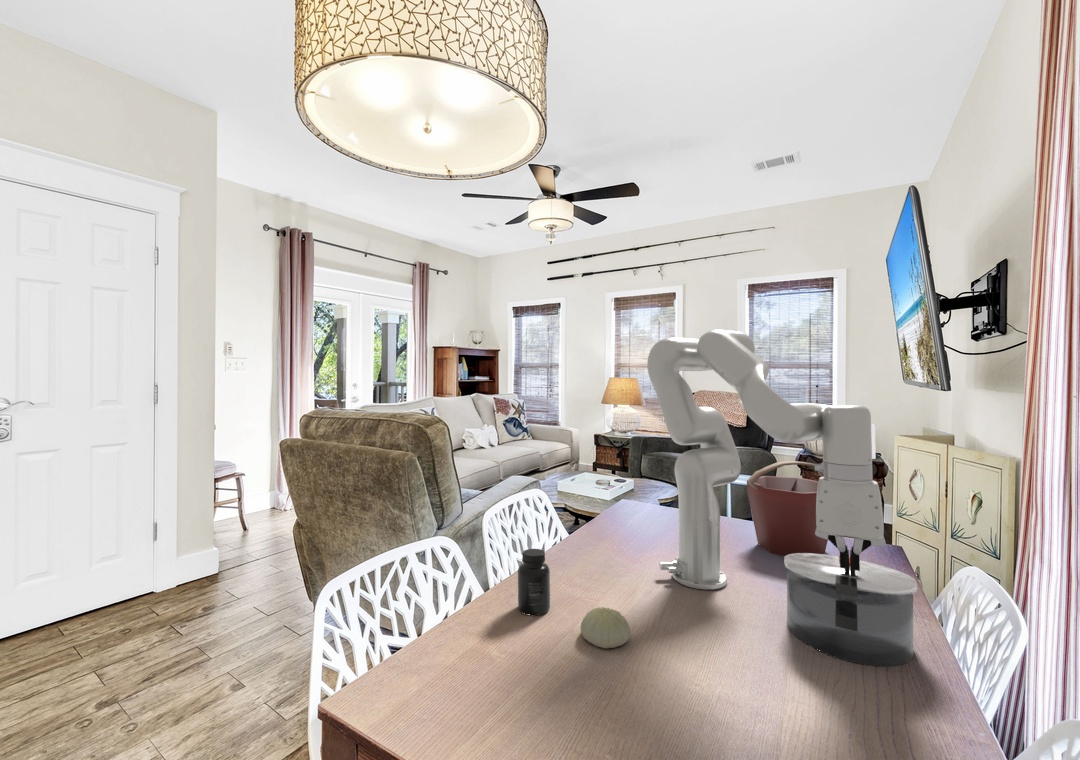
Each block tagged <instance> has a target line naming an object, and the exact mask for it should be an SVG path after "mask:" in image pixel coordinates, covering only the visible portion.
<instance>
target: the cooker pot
mask: <svg viewBox="0 0 1080 760" xmlns="http://www.w3.org/2000/svg"><path fill="white" fill-rule="evenodd" d="M786 571H787V572H786V616H787V617H786V623H787V627H788V629H789V630H790V632H791V633H792V634H793V635H794V636H795V637H796V638H797V637H798V638H797V639H799V640H800V641H801V642H803V643H804V642H805V643H804V644H805V645H807V644H808V645H807V646H809V645H810V646H809V647H811V646H812V647H813V649H814V648H816V649H818V650H820V651H819V652H821V651H822V652H821V653H823V652H824V653H823V654H825V653H827V654H826V655H827V656H830V655H831V657H833V658H836V659H839V660H842V661H845V660H846V661H845V662H849V661H851V662H850V663H853V662H854V663H853V664H858V663H859V664H860V665H863V664H865V665H864V666H869V665H871V666H870V667H880V666H886V667H887V668H888V666H890V667H898V666H902V665H905V664H907V663H909V662H910V661H911V660H912V659H913V657H914V593H911V594H903V595H891V594H879V593H870V592H863V591H857V597H852V596H848V595H843V594H838V593H835V586H833V585H829V584H826V583H822V582H818V581H815V580H812V579H809V578H806V577H803V576H801V575H799V574H796V573H794V572H792V571H791V570H789V569H788V568H787V570H786ZM812 647H811V648H812ZM816 649H815V650H816ZM818 650H817V651H818Z"/></svg>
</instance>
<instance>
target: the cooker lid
mask: <svg viewBox="0 0 1080 760" xmlns="http://www.w3.org/2000/svg"><path fill="white" fill-rule="evenodd" d="M783 559H784V561H783V562H784V567H785V568H786V569H787V570H788V569H789V570H791V571H792V572H794V573H796V574H799V575H801V576H803V577H806V578H809V579H812V580H815V581H818V582H822V583H826V584H829V585H833V586H835V593H838V594H843V595H848V596H852V597H857V591H863V592H870V593H879V594H891V595H903V594H911V593H912V594H914V593H916V592H917V591H918V582H917V580H916V579H915V578H914V577H913V576H911V575H908V574H907V573H904V572H902V571H900V570H897V569H895V568H891V567H888V566H885V565H881V564H877V563H873V562H871V561H865V560H860V571H857V570H855V576H852V575H851V572H850V556H849V574H848V575H845V568H840V555H839V556H838V555H832V554H826V553H825V554H813V553H794V554H789V555H786V556H783Z"/></svg>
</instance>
